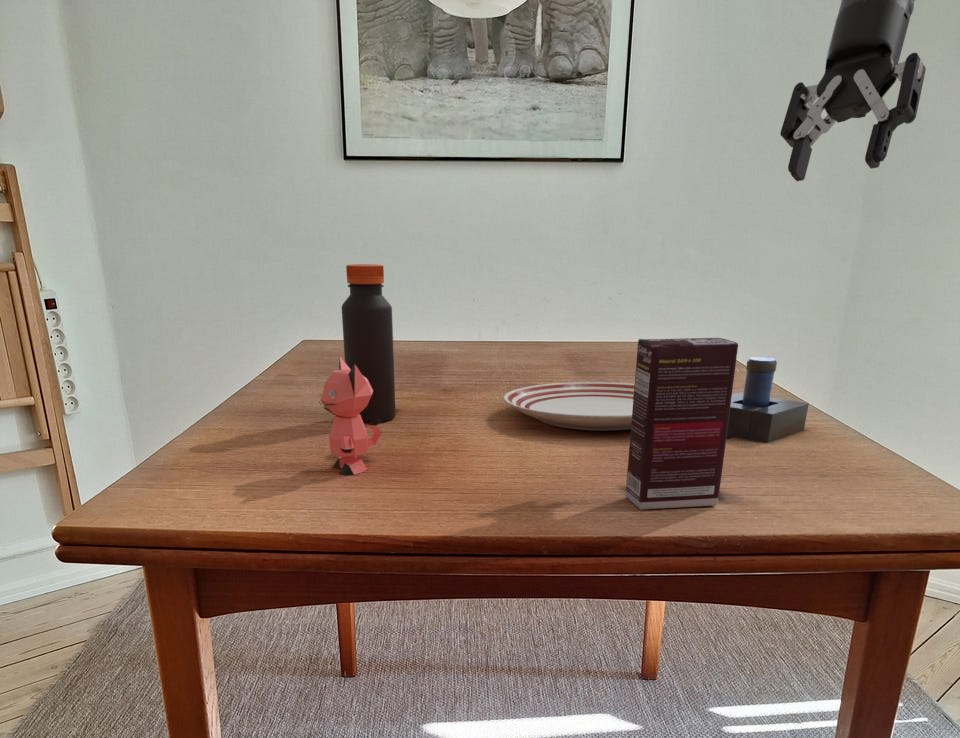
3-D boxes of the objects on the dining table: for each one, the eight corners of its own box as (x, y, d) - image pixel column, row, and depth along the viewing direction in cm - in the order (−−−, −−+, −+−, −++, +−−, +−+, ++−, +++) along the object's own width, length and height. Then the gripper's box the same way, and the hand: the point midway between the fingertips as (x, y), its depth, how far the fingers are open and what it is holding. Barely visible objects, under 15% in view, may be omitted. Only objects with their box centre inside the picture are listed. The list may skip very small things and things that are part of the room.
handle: (769, 437, 112) (782, 359, 108) (756, 441, 110) (768, 362, 105) (744, 432, 115) (756, 355, 110) (730, 436, 112) (742, 358, 108)
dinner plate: (464, 414, 123) (464, 391, 121) (591, 392, 139) (592, 371, 137) (606, 452, 104) (608, 425, 103) (733, 421, 120) (736, 397, 119)
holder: (802, 437, 112) (809, 403, 110) (766, 450, 106) (772, 414, 104) (735, 424, 119) (740, 392, 116) (697, 436, 112) (701, 402, 110)
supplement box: (699, 493, 89) (720, 336, 82) (718, 507, 85) (742, 343, 78) (621, 496, 88) (636, 337, 81) (637, 511, 84) (653, 344, 77)
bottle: (353, 424, 116) (344, 266, 107) (343, 414, 122) (334, 263, 113) (400, 421, 118) (395, 266, 109) (389, 411, 124) (384, 263, 115)
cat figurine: (316, 463, 98) (307, 356, 93) (372, 457, 101) (367, 353, 95) (332, 479, 93) (324, 366, 87) (391, 473, 95) (387, 363, 90)
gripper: (795, 18, 94) (758, 166, 95) (929, -25, 84) (885, 141, 85) (824, 57, 99) (788, 197, 100) (953, 21, 89) (911, 177, 90)
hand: (833, 171), depth 93 cm, fingers open, 8 cm apart
